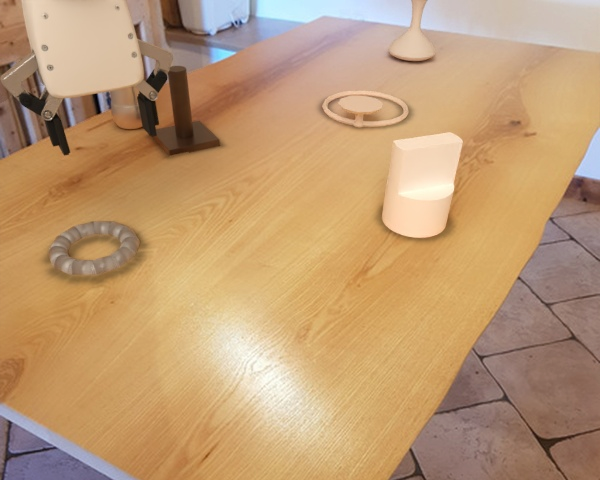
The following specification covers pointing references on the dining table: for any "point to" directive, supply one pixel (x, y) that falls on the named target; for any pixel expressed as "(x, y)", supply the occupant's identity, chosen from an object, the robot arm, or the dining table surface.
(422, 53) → the flower in vase
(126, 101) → the plastic bottle
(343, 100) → the hand towel holder
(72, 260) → the segmented ring
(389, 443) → the dining table surface
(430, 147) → the cylinder with rectangular tab
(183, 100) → the stand
